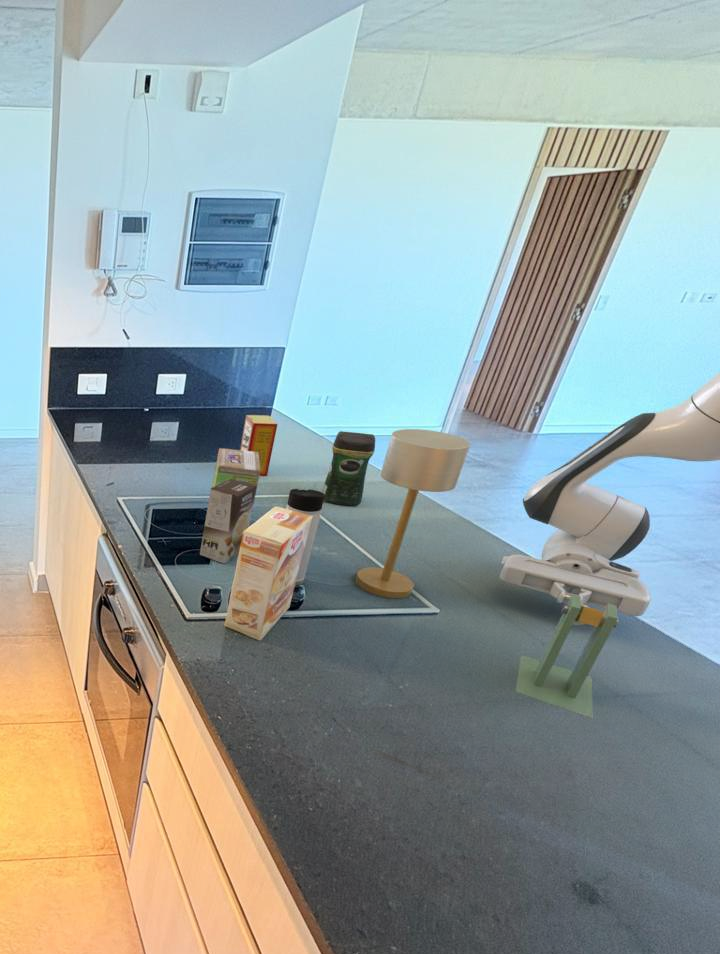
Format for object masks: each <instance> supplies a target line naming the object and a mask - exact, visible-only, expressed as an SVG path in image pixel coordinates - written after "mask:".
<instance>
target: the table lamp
mask: <svg viewBox="0 0 720 954" xmlns="http://www.w3.org/2000/svg"><path fill="white" fill-rule="evenodd" d="M470 446H471V443H470V441H468V440H467V439H465V438H464V437H461V436H457V435H454V434H451V433H447V432H442V431H437V430H430V429H418V428H406V429H405V428H404V429H398V430H394V431H393V432H392V433H391V437H390V440H389V444H388V447H387V450H386V454H385V457H384V460H383V464H382V467H381V470H380V475H379V476H380V477H381V478H382V479H383V480H384V481H385V482H388V483H390V484H392V485H394V486H398V487H401V488H404V489H408V491H407V494H406V496H405V499H404V503H403V506H402V509H401V513H400V515H399V518H398V521H397V525H396V527H395V528H396V529H395V531H394V534H393V537H392V540H391V544H390V547H389V550H388V553H387V556H386V560H385V563H384V566H383V567H376V566H374V567H373V566H369V567H363V568H360V569H359V570H358V571H357V572H356V576H355V583H356V584H357V585H358V587H360V588H361V589H362V590H364V591H366V592H368V593H370V594H372V595H375V596H378V597H381V598H382V597H383V598H387V599H405V598H407V597H409V596H411V595H412V593H413V590H414V587H415V585H414V582H413V581H412V580H411V579H410V578H409V577H407V576H406V575H404V574H402V573H400V572H398V571H395V570H394V568H395V565H396V562H397V559H398V555H399V553H400V550H401V547H402V543H403V540H404V537H405V534H406V532H407V528H408V525H409V522H410V519H411V516H412V513H413V509H414V507H415V504H416V499H417V498H418V494H419V492H429V493H444V492H451V491H452V490H455V488H456V486H457V484H458V481H459V479H460V475H461V472H462V469H463V467H464V464H465V461H466V458H467V455H468V452H469V450H470Z"/></svg>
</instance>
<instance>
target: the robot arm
mask: <svg viewBox="0 0 720 954" xmlns="http://www.w3.org/2000/svg"><path fill="white" fill-rule="evenodd" d="M635 457H637V458H638V457H652V458H661V459H662V458H664V459H672V460H678V461H679V460H680V461H686V462H700V463H701V462H716V461H720V371H718V372H717V373H715V374H714V375H713V376H712V377H710V378H709V379H708V380H707V381H706V382H704V384H702V385H701V386H700V387H699V388H698V389H697V390H696V391H694V392H693V393H692V395H690V396H689V397H688V398H686V399H685V400H683V401H682V402H680V403H678V404H676V405H674V406H672V407H669V408H667V409H663V410H661V411H657V412H643V413H640V414H637V415H635V416H634V417H631V418H630V419H628V420H627V421H625V422H623V423H622V424H621V425H619V426H617V427H616V428H614V429H612V430H611V431H610V432H608V433H607V434H605V435H604V436H603V437H601V438H600V439H598V440H597V441H595V442H594V443H593V444H591V445H590V446H588V447H587V448H586V449H584V450H583V451H581V452H580V453H578V454H577V455H575V456H574V457H573V458H571V459H569V461H567V462H565V464H563V465H561V466H560V467H557V468H556V469H555V470H552V471H551V472H549V473H548V474H546V475H545V476H543V477H541V478H539V479H538V480H537V481H536V482H535V483H533V484H532V485H531V486H530V487H529V488H528V490H527V491H526V493H525V495H524V496H523V498H522V505H523V507H524V511H525V513H526V514H527V516H528V518H529V519H532V520H534V521H537V522H539V523H542V524H545V525H549V526H550V527H551V526H552V527H554V528H555V529H556V530H555V531H553V532H552V533H551V534H550V535H549V536H548V538H547V539H546V541H545V542H544V544H543V547H542V551H541V559H540V558H536V557H532V556H529V555H528V556H527V555H523V554H511V555H510V556H507V555H506V556H505V555H504V556H503V557H502V558H501V564H502V566H503V567H502V569H501V571H500V574H499V577H498V578H499V580H501V581H502V582H503V583H505V584H510V585H513V586H516V587H517V586H518V587H522V588H526V589H529V590H532V591H537V592H540V593H545V594H548V595H551V596H552V597H553V598H554V599H557V601H556V602H557V603H559V604H563V605H567V604H568V602H569V600H570V598H571V596H572V594H574V595H578V596H581V603H582V604H585V605H588V606H589V605H590V606H594V607H597V608H601V609H605V608H606V606H607V604H608V603H609V604H612V605H616V606H617V613H619V614H624V615H628V616H631V617H641V616H643V615H644V614H645V612H647V609H648V607H649V605H650V603H651V601H652V599H651V595H650V592H649V589H648V587H647V585H646V584H645V583H644V582H643V580H641V579H640V575H641V573H640V571H638V570H636V569H634V568H631V567H628V566H626V565H623V564H620V563H617V562H614V561H617V560H620V559H622V558H624V557H626V556H627V555H629V554H631V552H633V551H634V550H635V549H636V548H638V546H639V545H641V543H642V542H643V540H644V539H645V538H646V536H647V534H648V533H649V530H650V526H651V519H650V514H649V511H648V509H647V507H646V506H643V505H641V504H639V503H636V502H634V501H632V500H630V499H627V498H624V497H622V496H620V495H618V494H614V493H612V492H610V491H607V490H605V489H603V488H600V487H598V486H595V485H593V484H590V483H589V482H587V481H589V480H590V479H592V478H593V477H595V476H596V475H598V474H599V473H601V472H602V471H603V470H605V469H606V468H608V467H610V466H611V465H613V464H614V463H616V462H618V461H620V460H623V459H627V458H635Z"/></svg>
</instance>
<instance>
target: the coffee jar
mask: <svg viewBox="0 0 720 954" xmlns="http://www.w3.org/2000/svg"><path fill="white" fill-rule="evenodd" d="M331 447H332V450H331V451H332V458H331V463H330V466H329V469H328V473H327V475H326V478H325V481H324V483H323V487H322V491H321V492H322V493H324V494H325V497H324V502H327V503H330V504H336V505H342V506H358V505H360V504H361V503H362V499H363V495H364V489H365V488H364V487H365V480H366V474H367V470H368V466H369V462H370V459H371V458H372V457H373V455H374V453H375V451H376V450H375V449H376V436H375V435H374V434H373V433H372V434H371V433H362V432H354V431H343V430H340V431H338V432H337V434H336V437H335V439H334V442H333V444H332V446H331Z"/></svg>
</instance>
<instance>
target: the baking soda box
mask: <svg viewBox="0 0 720 954" xmlns="http://www.w3.org/2000/svg"><path fill="white" fill-rule="evenodd" d="M277 429H278V423H277V422H276V421H275V420H274V419H273V418H272V417H271V416H270V415H269V414H267V415H266V414H265V415H264V414H246V415H245V419H244V425H243V431H242V437H241V443H240V449H239V450H242V451H252V452H258V453H259V461H260V477H268V473H269V467H270V463H271V458H272V453H273V449H274V443H275V438H276V433H277Z"/></svg>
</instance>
